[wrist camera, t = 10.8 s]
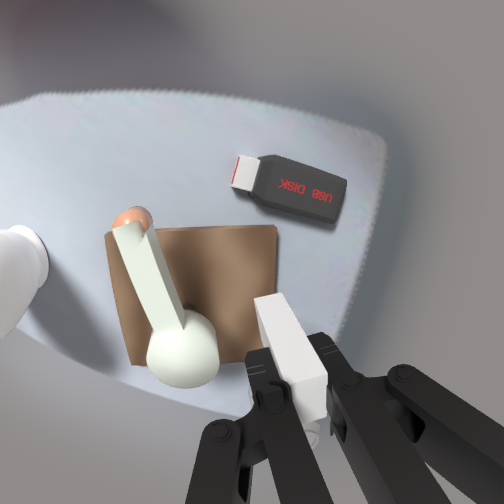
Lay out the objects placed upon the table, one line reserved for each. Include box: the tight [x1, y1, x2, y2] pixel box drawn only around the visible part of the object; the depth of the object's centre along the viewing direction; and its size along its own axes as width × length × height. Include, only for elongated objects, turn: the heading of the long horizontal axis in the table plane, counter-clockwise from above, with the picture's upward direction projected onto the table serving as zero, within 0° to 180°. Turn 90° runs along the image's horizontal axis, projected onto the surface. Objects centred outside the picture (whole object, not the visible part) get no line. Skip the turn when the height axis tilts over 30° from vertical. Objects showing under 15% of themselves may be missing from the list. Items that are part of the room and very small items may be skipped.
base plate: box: [105, 225, 277, 366], centre depth 31 cm, size 18×17×2 cm
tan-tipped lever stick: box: [112, 206, 219, 389], centre depth 22 cm, size 16×6×4 cm, turn 13°
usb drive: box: [230, 155, 347, 224], centre depth 28 cm, size 5×12×3 cm, turn 74°
